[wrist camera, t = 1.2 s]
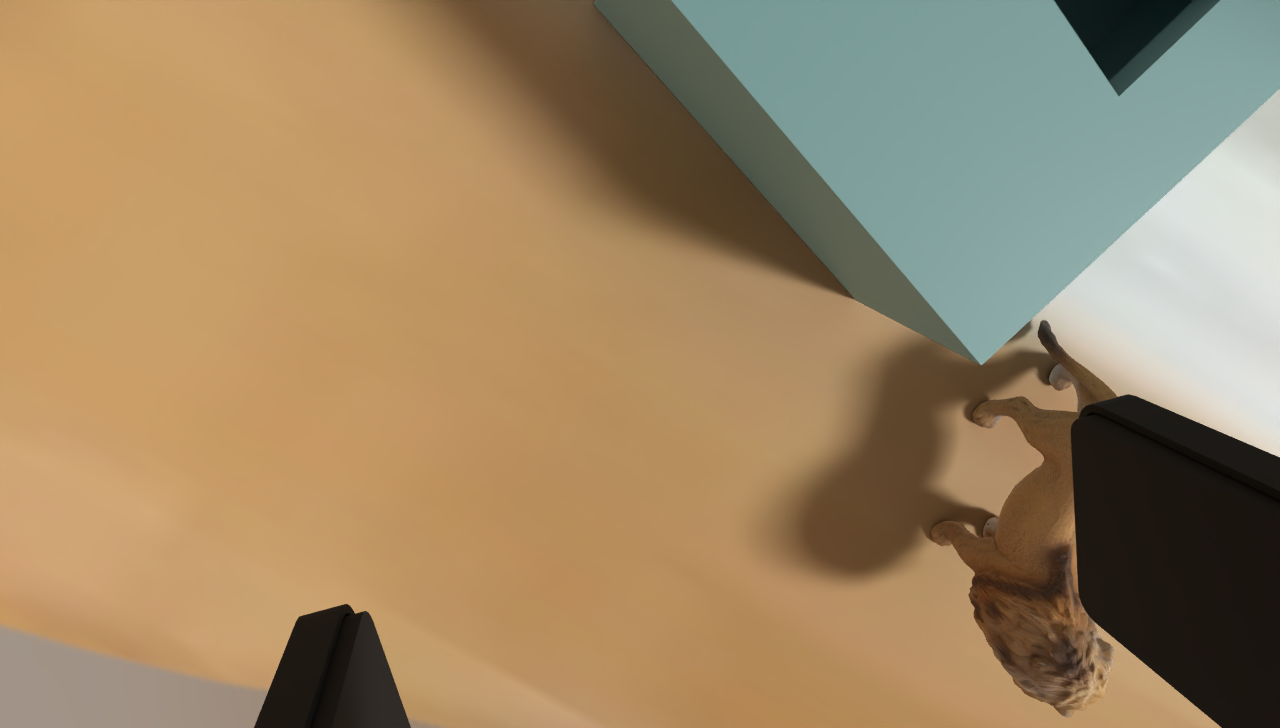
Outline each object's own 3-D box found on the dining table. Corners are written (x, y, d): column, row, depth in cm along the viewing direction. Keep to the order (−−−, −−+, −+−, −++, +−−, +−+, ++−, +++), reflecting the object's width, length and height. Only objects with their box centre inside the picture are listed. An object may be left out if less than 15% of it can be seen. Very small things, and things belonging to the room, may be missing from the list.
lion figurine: (1006, 608, 42) (1135, 734, 33) (908, 605, 41) (1014, 734, 32) (1085, 322, 38) (1253, 381, 29) (978, 311, 37) (1120, 369, 28)
